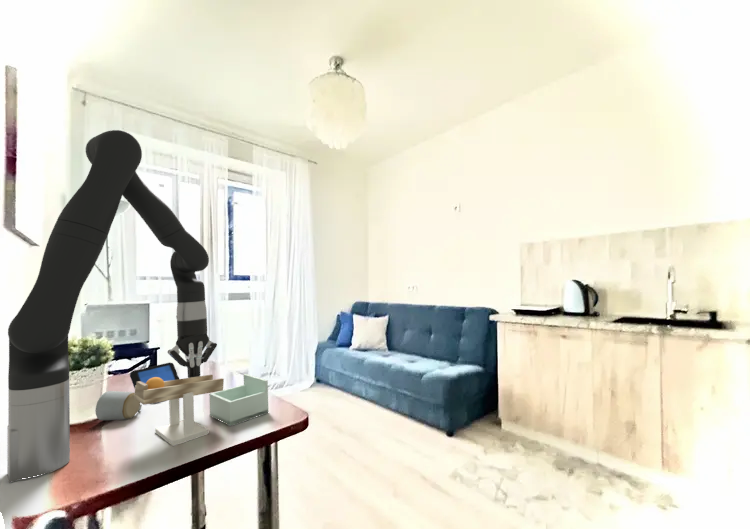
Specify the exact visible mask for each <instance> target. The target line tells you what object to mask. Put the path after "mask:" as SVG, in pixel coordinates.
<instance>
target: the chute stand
mask: <svg viewBox="0 0 750 529" xmlns="http://www.w3.org/2000/svg"><path fill="white" fill-rule="evenodd" d="M194 401H195V400H194V396H193V392H190V393H186V394H183V398H182V411H183V412H182V415H183V418H182V420H180V398H178V399H173V400H168V402H169V404H168V405H169V407H168V408H169V409H168V410H169V424H165V425H162V426H159V427H156V428H155V430H154V432H155V434H156V435H158V436H159V437H160V438H161V439H163V440H164V441H166V443H168V444H169V445H171V446H172V447H175V446H178V445H181V444H183V443H186V442H189V441H191V440H195V439H197V438H200V437H203V436H206V435H209V434H208V433H209V429H208V428H206V427H205V426H203V425H201V424H199V423H198V422H196V421H195V413H194V412H195V411H194V410H195V409H194V407H195V406H194Z"/></svg>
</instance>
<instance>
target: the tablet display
mask: <svg viewBox="0 0 750 529" xmlns="http://www.w3.org/2000/svg"><path fill="white" fill-rule="evenodd" d="M129 377H130V380H131V382H132V385H133V388H134V389H135V385H136V383H137V382H138V381H141V382H143V383H145V384H146V382H147V381H148V380H149V379H151V378H153V377H159V378H161V379H162V380H163V381H170V380H177V379H180V377H179V376H178V372H177V369H176V367H175V365H174V363H173V362H165V363H161V364H157V365H153V366H148V367H143V368H140V369H136V370H132V371H130V373H129ZM157 403H159V402H156V403H155V404H157Z"/></svg>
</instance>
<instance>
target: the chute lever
mask: <svg viewBox="0 0 750 529" xmlns="http://www.w3.org/2000/svg"><path fill="white" fill-rule="evenodd" d="M224 380H225V378H223V377H222V378H215V379H214V375H213V374H207V375H200V376H198V377H191V378H188V377H184V378H179V379H177V380H170V381H164V387H161V388H155V389H148V385H147V384H145V383H143V382H141V381H138V382H137V383H136V385H135V388H134V393H135V394H134V399H136V400H137V401H139V402H140V404H141V405H142V406H143V405H144V406H145V405H149V404H150V405H151V404H157V403H156V402H158V403H160V402H162V403H163V402H167V401H169V400H173V399H178V398H179V399H183V394H186V393H190V392H193V397H195V396H200V395H205V394H206V395H207V394H211V393H214V392H218V391H223V390H224V383H225V382H224Z"/></svg>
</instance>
